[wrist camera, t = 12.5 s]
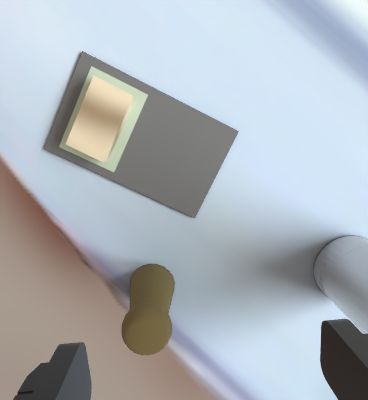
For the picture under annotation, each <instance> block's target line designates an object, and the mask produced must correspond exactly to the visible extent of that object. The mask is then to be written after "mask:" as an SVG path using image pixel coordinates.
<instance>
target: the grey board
mask: <svg viewBox="0 0 368 400" xmlns="http://www.w3.org/2000/svg"><path fill="white" fill-rule="evenodd" d="M93 75H94V76H96V77H98V78H100V79H102V80H104V81H106V82H108V83H110V84H111V85H113V86H115V87H117V88H119V89H121V90H123V91H125V92H127V93H129V94H131V95H133V96H134V97H135V100H134V103H133V105H132V107H131V109H130V112H129V114H128V116H127V118H126V121H125V123H124V125H123V128H122V130H121V132H120V134H119V137H118V139H117V141H116V144H115V146H114V148H113V150H112V153H111V155H110V157H109V159H108V161H106V162H101V161H99V160H97V159H95V158H93V157H91V156H89V155H87V154H84V153H82V152H80V151H78V150H76V149H74V148H72V147H70V146H67V145H65V144H66V142H67V139H68V137H69V134H70V132H71V129H72V127H73V124H74V122H75V120H76V117H77V115H78V112H79V110H80V107H81V105H82V102H83V100H84V97H85V95H86V93H87V90H88V88H89V85H90V83H91V80H92V78H93ZM238 132H239V131H237V130H235V129H233V128H231V127H229V126H227V125H225V124H223V123H221V122H219V121H217V120H215V119H214V118H212V117H210V116H208V115H206V114H204V113H202V112H200V111H198V110H196V109H194V108H192V107H190V106H188V105H186V104H184V103H182V102H180V101H178V100H176V99H175V98H173V97H171V96H169V95H167V94H165V93H163V92H161V91H159V90H157V89H155V88H153V87H151V86H149V85H147V84H145V83H143V82H141V81H139V80H138V79H136V78H134V77H132V76H130V75H128V74H126V73H124V72H122V71H120V70H118V69H116V68H114V67H112V66H110V65H108V64H106V63H104V62H102V61H101V60H99V59H97V58H95V57H93V56H91V55H89V54H87V53H85V52H83V51H82V53H81V56H80V58H79V61H78V64H77V66H76V69H75V71H74V74H73V76H72V79H71V82H70V84H69V87H68V89H67V92H66V94H65V97H64V100H63V102H62V105H61V107H60V110H59V112H58V115H57V118H56V120H55V123H54V125H53V128H52V130H51V133H50V135H49V138H48V141H47V143H46V146H45V148H44V149H45V150H47V151H49V152H52V153H54V154H56V155H58V156H60V157H62V158H65V159H67V160H69V161H71V162H73V163H76V164H78V165H80V166H82V167H84V168H86V169H89V170H91V171H93V172H95V173H97V174H100V175H102V176H104V177H106V178H108V179H110V180H113V181H115V182H117V183H119V184H121V185H123V186H126V187H128V188H130V189H132V190H134V191H137V192H139V193H141V194H143V195H145V196H147V197H150V198H152V199H154V200H156V201H158V202H160V203H163V204H165V205H167V206H169V207H171V208H174V209H176V210H178V211H180V212H182V213H184V214H187V215H189V216H191V217H193V218H195V217H196V215H197V213H198V211H199V209H200V207H201V205H202V203H203V201H204V199H205V197H206V195H207V193H208V191H209V189H210V187H211V185H212V183H213V181H214V179H215V177H216V175H217V173H218V171H219V169H220V167H221V165H222V163H223V161H224V159H225V158H226V156H227V154H228V152H229V150H230V148H231V146H232V144H233V142H234V140H235V138H236V136H237V134H238Z"/></svg>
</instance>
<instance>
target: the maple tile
mask: <svg viewBox="0 0 368 400" xmlns="http://www.w3.org/2000/svg"><path fill="white" fill-rule="evenodd" d="M134 100H135V97H134V96H133V95H131V94H129V93H127V92H125V91H123V90H121V89H119V88H117V87H115V86H113V85H111V84H110V83H108V82H106V81H104V80H102V79H100V78H98V77H96V76H94V75H93V78H92V80H91V83H90V85H89V88H88V90H87V93H86V95H85V97H84V100H83V102H82V105H81V107H80V110H79V112H78V115H77V117H76V120H75V122H74V124H73V127H72V129H71V132H70V134H69V137H68V139H67V142H66V144H65V145H67V146H70V147H72V148H74V149H76V150H78V151H80V152H82V153H84V154H87V155H89V156H91V157H93V158H95V159H97V160H99V161H101V162H106V161H108V159H109V157H110V155H111V153H112V150H113V148H114V146H115V144H116V141H117V139H118V137H119V134H120V132H121V130H122V128H123V125H124V123H125V121H126V118H127V116H128V114H129V112H130V109H131V107H132V105H133V103H134Z"/></svg>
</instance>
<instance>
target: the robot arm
mask: <svg viewBox="0 0 368 400" xmlns="http://www.w3.org/2000/svg"><path fill="white" fill-rule="evenodd" d="M314 277H315V280H316V283H317V285H318V286H319V288H320V289H321V290H322V291H323V292H324V293H325V294H326V295H327V296H328V297H329V298H330V299H331V300H332V301H333V302H334V303H335V305H336V306H337V307H338V308H339V309H340V310H341V311H342V312H343V313H344V314H345V315H346V316H347V317H348V318H349V319H350V320H351V321H352V322H353V323H354V324H355V325H356V326H357V327H358V328H359V329H360V330H361V331H362V332H363V333H364V334H362V333H361V332H360V331H359V330H358V329H357V328H356V327H355V325H354V324H353V323H352V322H351V321H349V320H348V319H338V320H327V321H323V322H322V325H321V354H320V362H321V368H322V372H323V374H324V377H325V379H326V381H327V383H328V384H329V386H330V387H331V389H332V391H333V392H334V394H335V395H336V397H337V398H338V400H368V240H367V239H364V238H362V237H358V236H344V237H341V238H338V239H336V240H334V241H332V242H330V243H329V244H328V245H326V246H325V247H324V248H323V250H322V251H321V252H320V254H319V255H318V257H317V259H316V262H315V266H314ZM90 398H91V377H90V371H89V365H88V359H87V353H86V347H85V344H84V343H83V342H81V343H69V344H60V345H59V346H58V347H57V349H56V350H55V352H54V354H53V356H52V358H51V360H50V362H49V363H41V364H40V365H39V366H38V367H37V368H36V369H35V370H34V371H32V372H31V373H30V374H29V375H28V376H27V378H26V379H25V381H24V383H23V384H22V386H21V388H20V389H19V391H18V394H17V395H16V396H15V398H14V399H13V400H90Z"/></svg>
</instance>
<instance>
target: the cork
mask: <svg viewBox="0 0 368 400" xmlns="http://www.w3.org/2000/svg"><path fill="white" fill-rule="evenodd" d="M174 285H175V282H174V278H173V276H172V274H171V273H170V271H169V270H167V269H166V268H165V267H163V266H160V265H157V264H148V265H144V266H142V267H140V268H138V269H137V270H136V271H135V272H134V273H133V275H132V277H131V280H130V310H129V312H128V313H127V314H126V316H125V318H124V320H123V323H122V337H123V340H124V342H125V344H126V345H127V347H128V348H129V349H130V350H132V351H133V352H134V353H137V354H140V355H151V354H155V353H157V352H158V351H160V350H162V349H163V348H164V347H165V346H166V345H167V343H168V341H169V339H170V336H171V332H172V323H171V320H170V316H169V314H168V313H169V309H170V305H171V300H172V296H173V292H174Z"/></svg>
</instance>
